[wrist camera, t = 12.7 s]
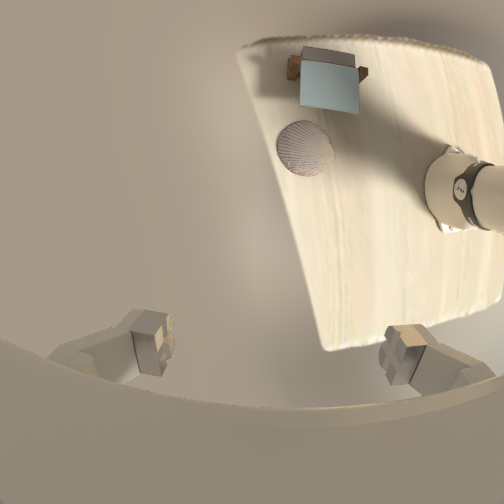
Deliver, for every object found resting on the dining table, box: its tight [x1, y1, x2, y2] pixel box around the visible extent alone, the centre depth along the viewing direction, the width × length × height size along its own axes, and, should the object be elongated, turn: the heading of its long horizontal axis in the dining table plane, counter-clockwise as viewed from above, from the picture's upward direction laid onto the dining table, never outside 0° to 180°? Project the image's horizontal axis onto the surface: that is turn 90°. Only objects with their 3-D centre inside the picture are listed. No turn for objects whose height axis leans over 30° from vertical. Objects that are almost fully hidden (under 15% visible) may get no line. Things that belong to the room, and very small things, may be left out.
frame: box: [287, 55, 368, 83], centre depth 37 cm, size 13×4×8 cm, turn 87°
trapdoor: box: [300, 46, 359, 114], centre depth 37 cm, size 9×11×5 cm
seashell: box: [277, 121, 335, 176], centre depth 44 cm, size 10×6×10 cm
